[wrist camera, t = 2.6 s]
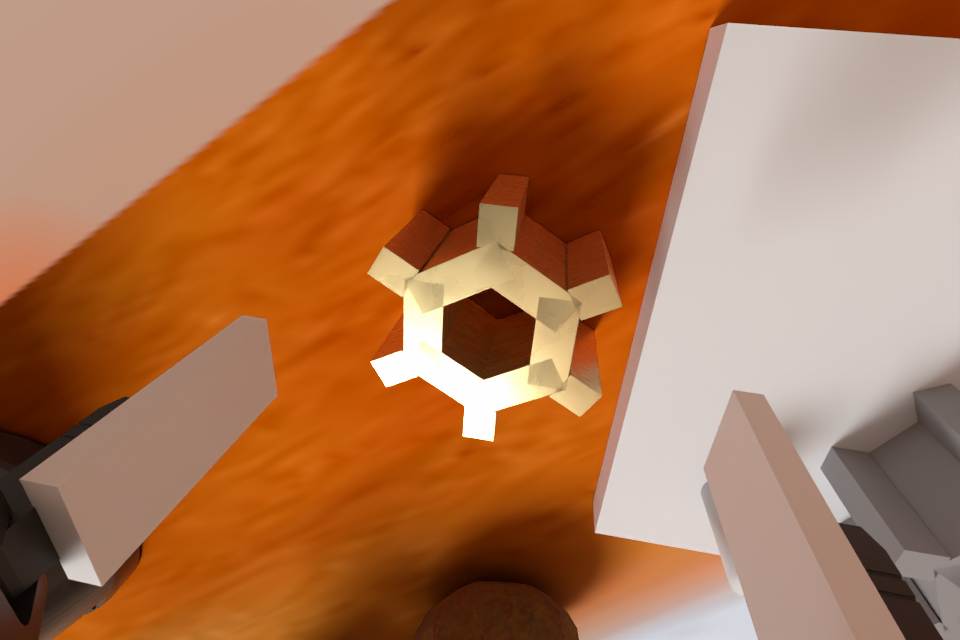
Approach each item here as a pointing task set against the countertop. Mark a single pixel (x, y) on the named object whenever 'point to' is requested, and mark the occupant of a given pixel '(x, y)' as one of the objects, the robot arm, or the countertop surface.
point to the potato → (497, 615)
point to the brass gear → (477, 333)
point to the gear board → (807, 296)
